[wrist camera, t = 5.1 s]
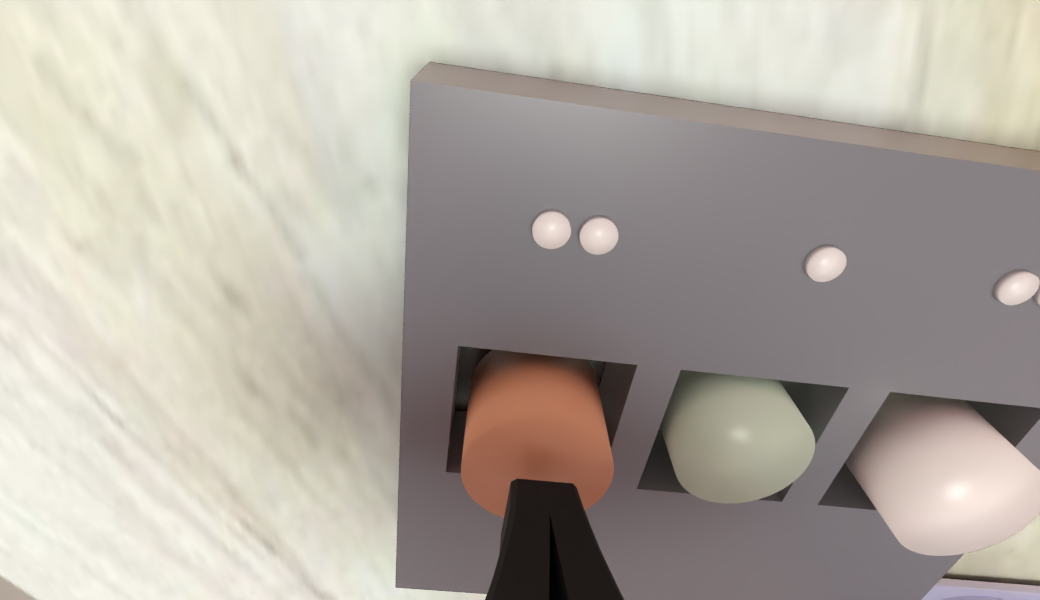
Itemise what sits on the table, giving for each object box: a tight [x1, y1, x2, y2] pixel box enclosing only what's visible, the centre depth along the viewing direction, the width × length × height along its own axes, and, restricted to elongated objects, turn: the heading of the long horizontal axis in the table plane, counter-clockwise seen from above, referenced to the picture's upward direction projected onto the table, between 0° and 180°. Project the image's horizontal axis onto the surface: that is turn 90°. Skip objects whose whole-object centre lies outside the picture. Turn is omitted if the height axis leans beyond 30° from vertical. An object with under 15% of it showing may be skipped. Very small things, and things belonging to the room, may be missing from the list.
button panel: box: [396, 62, 1040, 600], centre depth 15 cm, size 18×16×3 cm
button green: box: [660, 370, 815, 504], centre depth 15 cm, size 4×4×3 cm
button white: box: [845, 392, 1040, 556], centre depth 15 cm, size 4×4×3 cm
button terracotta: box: [461, 350, 614, 518], centre depth 14 cm, size 4×4×3 cm
